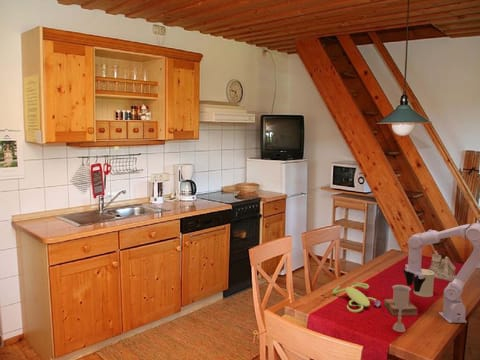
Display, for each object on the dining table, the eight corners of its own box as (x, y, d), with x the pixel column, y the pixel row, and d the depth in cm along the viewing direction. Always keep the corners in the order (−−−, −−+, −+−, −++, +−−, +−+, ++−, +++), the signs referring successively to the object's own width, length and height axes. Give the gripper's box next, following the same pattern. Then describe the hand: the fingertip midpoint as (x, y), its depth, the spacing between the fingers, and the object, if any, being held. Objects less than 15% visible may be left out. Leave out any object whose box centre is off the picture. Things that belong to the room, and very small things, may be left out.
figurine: (363, 289, 222) (364, 279, 221) (388, 312, 196) (389, 300, 195) (329, 291, 219) (330, 281, 219) (350, 314, 193) (350, 302, 192)
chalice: (404, 325, 182) (406, 284, 180) (411, 332, 176) (413, 291, 173) (387, 325, 182) (389, 284, 180) (393, 332, 175) (396, 291, 173)
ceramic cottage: (451, 282, 233) (453, 255, 232) (422, 275, 245) (423, 249, 244) (463, 277, 243) (465, 251, 242) (434, 270, 255) (436, 246, 254)
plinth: (417, 315, 192) (417, 308, 191) (393, 315, 191) (393, 309, 191) (406, 304, 203) (407, 298, 202) (383, 305, 202) (384, 299, 202)
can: (435, 297, 211) (436, 274, 210) (415, 296, 213) (416, 273, 212) (430, 290, 220) (432, 268, 219) (411, 289, 222) (413, 267, 220)
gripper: (399, 255, 204) (398, 282, 206) (413, 265, 190) (411, 294, 191) (414, 255, 204) (412, 282, 206) (428, 265, 190) (427, 294, 192)
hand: (413, 288), depth 199 cm, fingers open, 7 cm apart
